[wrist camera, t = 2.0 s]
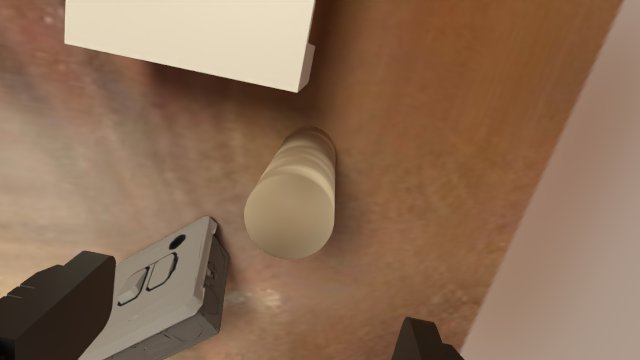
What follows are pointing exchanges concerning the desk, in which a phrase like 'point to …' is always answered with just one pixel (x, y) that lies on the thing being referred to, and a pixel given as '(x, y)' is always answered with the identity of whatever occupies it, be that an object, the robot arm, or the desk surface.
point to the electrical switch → (165, 297)
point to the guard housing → (203, 36)
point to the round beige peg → (295, 197)
